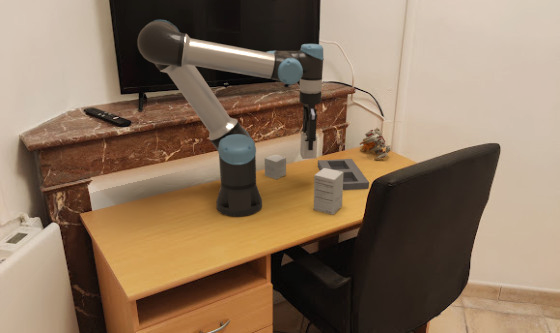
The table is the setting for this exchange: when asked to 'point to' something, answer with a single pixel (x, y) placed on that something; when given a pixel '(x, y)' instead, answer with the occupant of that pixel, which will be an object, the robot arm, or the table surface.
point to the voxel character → (375, 143)
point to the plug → (303, 146)
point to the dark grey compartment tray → (346, 173)
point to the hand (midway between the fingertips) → (308, 155)
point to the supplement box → (328, 190)
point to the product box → (275, 166)
